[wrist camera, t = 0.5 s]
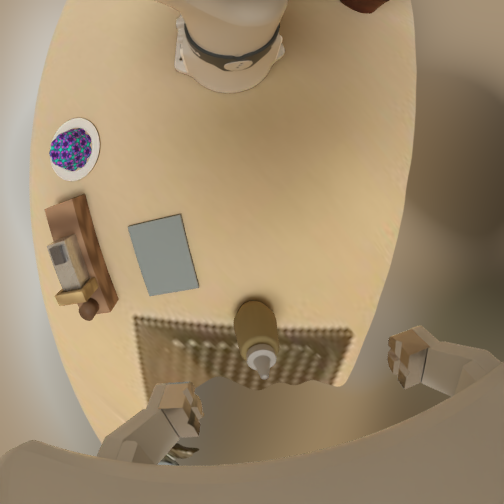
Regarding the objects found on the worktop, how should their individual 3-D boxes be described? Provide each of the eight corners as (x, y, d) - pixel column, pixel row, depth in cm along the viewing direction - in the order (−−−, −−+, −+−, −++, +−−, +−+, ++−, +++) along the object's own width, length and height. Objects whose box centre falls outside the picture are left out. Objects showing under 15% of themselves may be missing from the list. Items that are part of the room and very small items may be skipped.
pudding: (50, 180, 41) (35, 184, 36) (55, 120, 37) (40, 119, 32) (98, 181, 42) (85, 184, 37) (105, 116, 38) (92, 113, 33)
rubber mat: (129, 225, 45) (127, 227, 44) (180, 213, 46) (180, 215, 45) (150, 294, 50) (149, 296, 49) (199, 285, 50) (198, 287, 50)
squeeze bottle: (274, 325, 55) (292, 388, 38) (236, 331, 55) (241, 397, 38) (270, 291, 52) (290, 352, 35) (229, 298, 52) (232, 362, 35)
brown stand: (58, 203, 42) (26, 216, 32) (85, 194, 42) (54, 205, 32) (92, 303, 50) (71, 331, 40) (118, 299, 50) (99, 329, 40)
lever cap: (58, 238, 39) (44, 247, 35) (75, 233, 40) (61, 242, 35) (75, 288, 43) (64, 300, 39) (93, 285, 43) (82, 297, 39)
